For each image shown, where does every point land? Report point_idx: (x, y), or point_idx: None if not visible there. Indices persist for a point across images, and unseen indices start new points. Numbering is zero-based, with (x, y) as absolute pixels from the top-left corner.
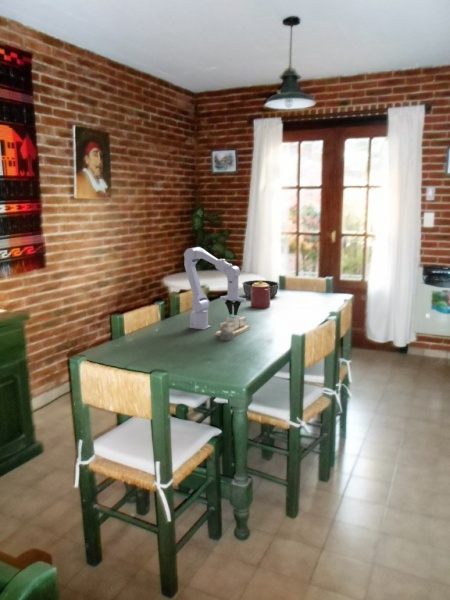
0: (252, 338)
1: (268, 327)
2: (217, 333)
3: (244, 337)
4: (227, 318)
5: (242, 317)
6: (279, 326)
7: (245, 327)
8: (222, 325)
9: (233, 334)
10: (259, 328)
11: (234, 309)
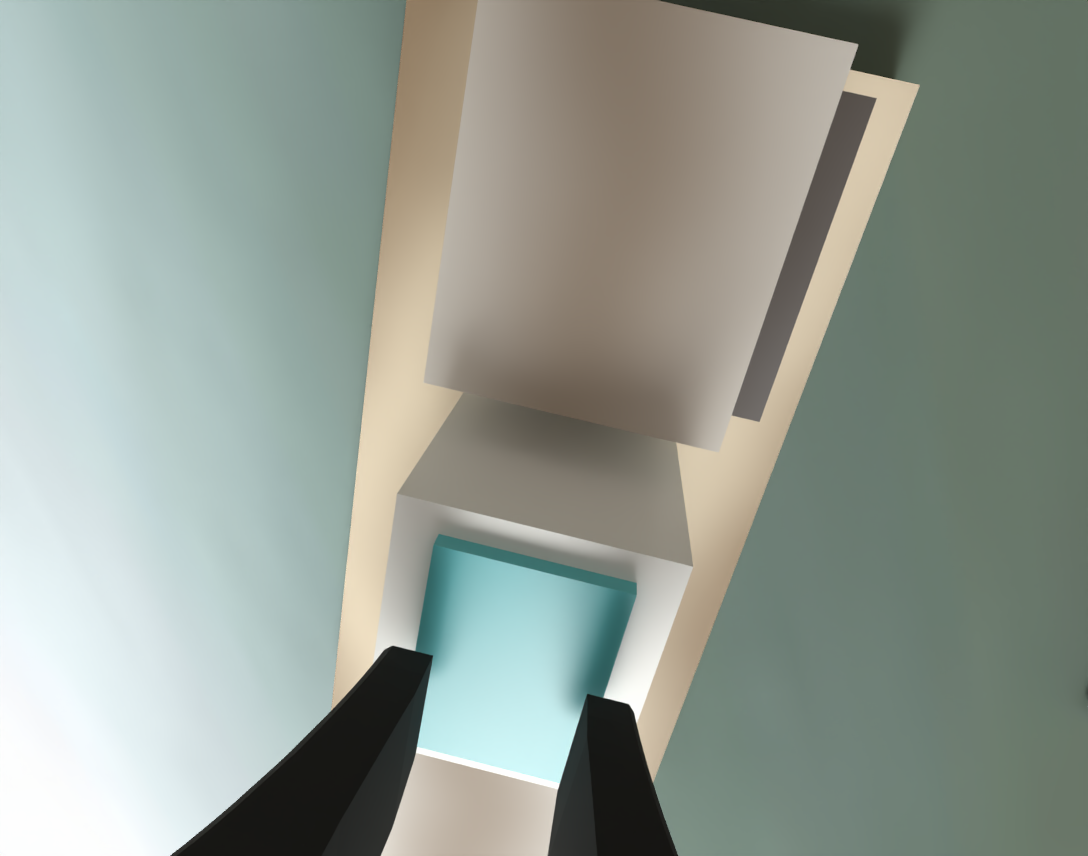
0: (19, 65)
1: (128, 769)
2: (856, 76)
3: (198, 95)
4: (675, 539)
5: (400, 847)
6: (26, 823)
7: (365, 621)
8: (740, 27)
9: (404, 29)
10: (220, 710)
11: (295, 831)
